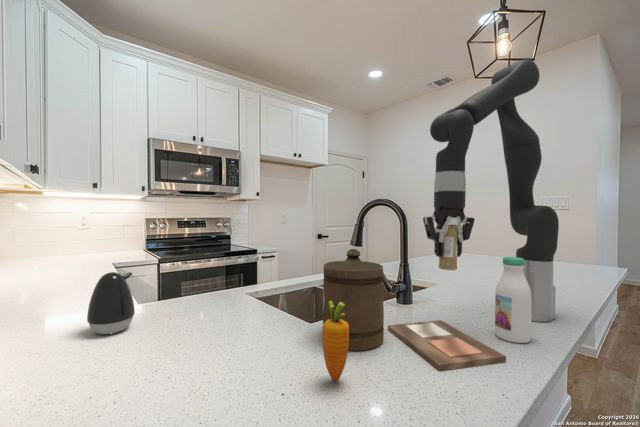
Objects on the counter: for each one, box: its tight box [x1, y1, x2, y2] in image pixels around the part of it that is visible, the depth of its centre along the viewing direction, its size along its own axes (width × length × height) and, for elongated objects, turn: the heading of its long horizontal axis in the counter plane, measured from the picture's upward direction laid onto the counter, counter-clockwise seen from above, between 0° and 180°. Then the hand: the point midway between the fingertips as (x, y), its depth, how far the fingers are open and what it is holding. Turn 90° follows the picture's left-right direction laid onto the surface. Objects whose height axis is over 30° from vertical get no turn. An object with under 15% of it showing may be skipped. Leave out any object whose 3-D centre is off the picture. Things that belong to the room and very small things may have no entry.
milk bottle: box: [494, 256, 532, 344], centre depth 78 cm, size 8×8×20 cm
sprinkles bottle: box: [438, 217, 458, 271], centre depth 81 cm, size 5×5×14 cm
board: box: [387, 320, 507, 372], centre depth 74 cm, size 16×22×2 cm
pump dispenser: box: [86, 271, 136, 335], centre depth 81 cm, size 10×10×15 cm
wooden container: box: [322, 248, 385, 352], centre depth 77 cm, size 15×15×22 cm
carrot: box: [321, 301, 349, 383], centre depth 57 cm, size 5×5×15 cm
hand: (447, 256), depth 81 cm, fingers closed on sprinkles bottle, 4 cm apart
